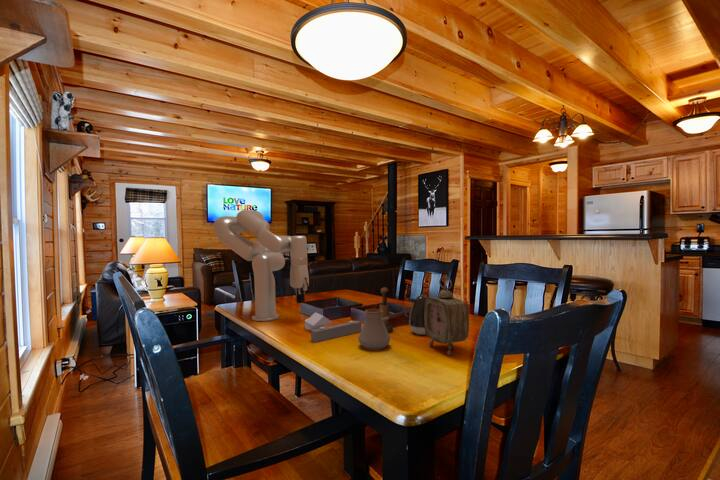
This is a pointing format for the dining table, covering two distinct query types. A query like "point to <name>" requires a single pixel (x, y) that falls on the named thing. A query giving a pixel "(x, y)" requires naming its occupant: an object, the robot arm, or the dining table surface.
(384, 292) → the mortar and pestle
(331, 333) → the bar
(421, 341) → the dining table surface
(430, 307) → the tabletop clock
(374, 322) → the coffee pot
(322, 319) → the wedge on round base
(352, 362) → the dining table surface
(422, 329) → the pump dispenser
